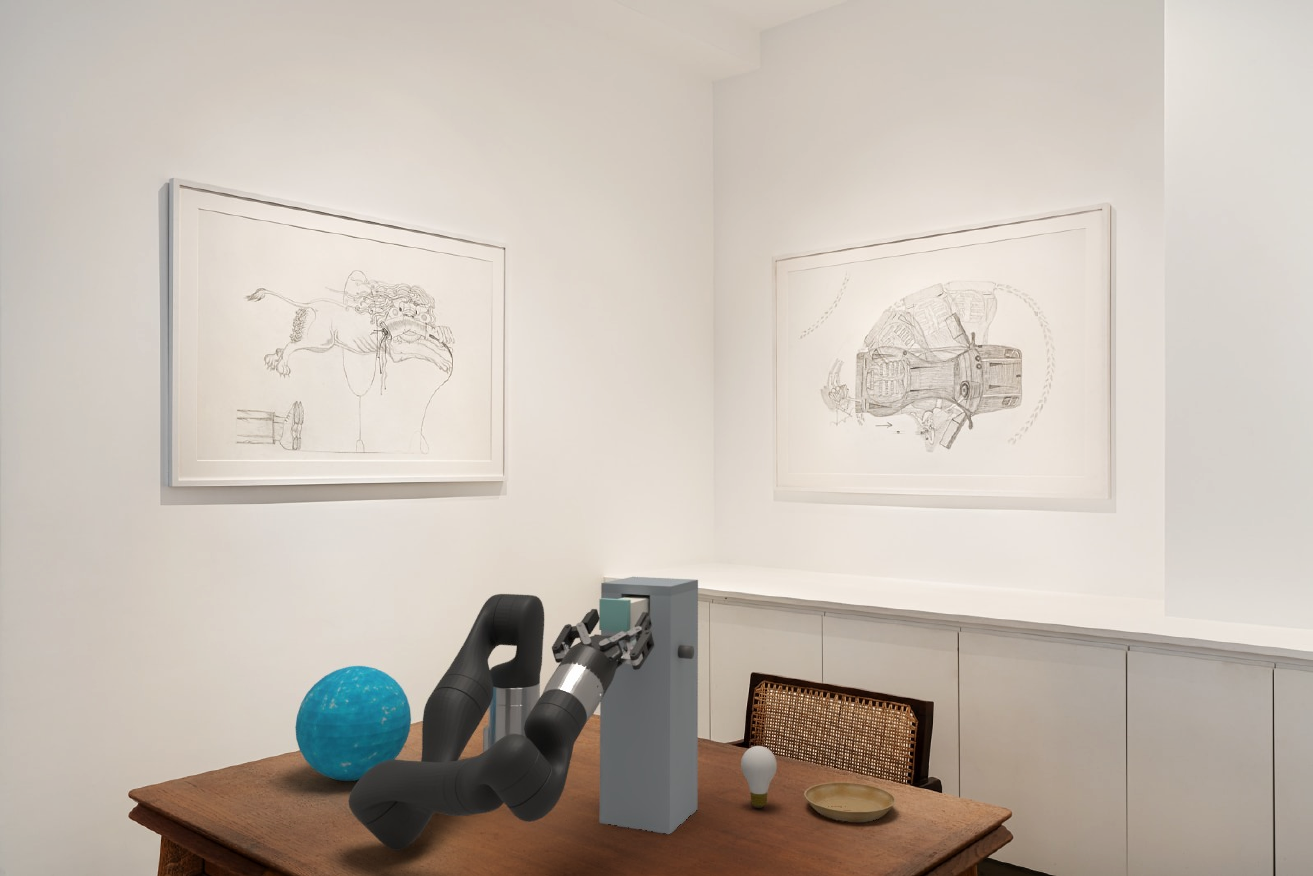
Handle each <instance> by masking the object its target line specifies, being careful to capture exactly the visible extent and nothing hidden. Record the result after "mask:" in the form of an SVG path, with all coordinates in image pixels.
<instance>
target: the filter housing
mask: <svg viewBox="0 0 1313 876" xmlns="http://www.w3.org/2000/svg"><path fill="white" fill-rule="evenodd" d="M600 587H601V588H600V589H601V591H600V593H601V598H600V599H602V598H609V599H620V598H624V597H628V596H632V595H636V594H638V595H650V619H651V623H652V626H651V628H650V629H649V630H651V632H652V636H653V641H654V647H653V649H652V650H651V652H650V654H649V655H648V657H647V658H646V660H645V661H644V663H643V665H642V666H641V668H640V669H638V670H634V669H633V667H632V664H625V663H623V664H622V665H621V666H619V667H618V668H617V669H616V671H615V675H614V678H613V680H612V682H611V684H610V686H609V687H608V689H607V691H606V693H605V694H604V696H603V698H602V700H601V701H600V703H599V705H600V708H599V709H600V715H599V717H600V718H599V719H600V721H599V722H600V723H599V730H600V731H599V813H598V814H599V818H598V819H599V821H598V822H599V824H603V825H608V824H611V825H610V826H614V825H617V826H616V827H621V828H627V829H628V827H629V829H633V830H634V829H635V830H639V829H642V830H641V831H645V830H647V831H646V832H651V831H653V833H658V834H663V833H666V834H665V835H669V834H670V833H671V834H673V832H674V831H675V830H676V829H678V828H679V827H680V826H681V825H682V824H683V823H685V821H687V820H686V819H689V818H690V817H691V816H692V815H693V814H694V813H696V812H697V811H698V797H699V796H698V791H699V790H698V774H699V773H698V772H699V771H698V769H699V768H698V765H699V764H698V760H699V759H698V754H699V753H698V751H699V749H698V747H699V745H698V744H699V743H698V741H699V740H698V739H699V737H698V735H699V727H698V726H699V725H698V721H699V718H698V717H699V716H698V715H699V714H698V712H699V711H698V710H699V708H698V707H699V706H698V705H699V703H698V701H699V695H698V693H699V692H698V691H699V690H698V689H699V686H698V685H699V683H698V680H699V665H698V664H699V657H698V656H699V580H698V579H694V578H693V579H691V578H688V579H687V578H669V577H667V578H666V577H646V576H629V577H624V578H619V579H615V580H610V581H603V582H601V586H600ZM620 632H621V631H607V630H600V635H602V636H608V635H610V636H614V635H616V634H618V633H620ZM635 639H636V638H635V636H634V637H632V638H631V639H630V641H633V640H635ZM619 644H620V647H621V649H623V647H624V645H623V641H620V642H619ZM696 810H697V811H696ZM690 815H691V816H690ZM689 816H690V817H689ZM688 817H689V818H688ZM680 824H681V825H680ZM679 825H680V826H679ZM678 826H679V827H678ZM677 827H678V828H677ZM671 834H670V835H671Z"/></svg>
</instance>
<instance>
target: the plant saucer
mask: <svg viewBox="0 0 1313 876" xmlns="http://www.w3.org/2000/svg"><path fill="white" fill-rule="evenodd" d="M803 795H804V798H805V799H806V801H807V802H808V804H809V805H810V806H811V807H812V809H814V810H815V811H816V812H817V813H818V814H819V813H820V814H819V815H821V816H823V815H824V816H823V817H825V816H826V817H825V818H827V817H828V819H830V818H832V819H831V820H834V819H837V820H836V821H838V820H842V821H841V822H844V821H850V822H849V823H868V821H869V822H874V821H877V820H879V819H881V818H882V817H884V816H885V815H886V814H888V812H889V811H890V810H891V809H892V808H893V806H894V805H895V804H896V802H897V800H896V797H895V795H894V794H892V793H891V792H889V791H888V790H886V789H884V788H880V787H878V786H875V785H870V784H867V783H866V784H865V783H858V782H850V781H849V782H847V781H837V782H834V781H833V782H832V781H831V782H824V783H819V784H814V785H812V786H810V787H808V788H807V789H805V791H804V794H803ZM828 806H829V807H828ZM831 806H833V807H831ZM834 806H842V808H840V807H834ZM845 806H846V807H845ZM843 810H851V811H843ZM876 819H877V820H876ZM873 820H874V821H873Z"/></svg>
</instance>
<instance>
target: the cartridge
mask: <svg viewBox="0 0 1313 876" xmlns="http://www.w3.org/2000/svg"><path fill="white" fill-rule="evenodd" d="M598 602H599V610H598V611H599V612H598V614H599V622H598V625H599V626H598V628H599V629H598V630H599V631H601V630H607V631H625V632H627V631H629V630H631V629H633V628H635V624H636V623H637V621H638V619H639V618H640V616H641V614H642V612H648V615H649V616H650V595H638V594H636V595H632V596H628V597H624V598H620V599H609V598H602V599H601V598H599V601H598Z"/></svg>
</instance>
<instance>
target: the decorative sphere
mask: <svg viewBox="0 0 1313 876" xmlns="http://www.w3.org/2000/svg"><path fill="white" fill-rule="evenodd" d="M301 701H302V702H301V703H300V706H299V709H298V712H297V716H296V720H295V721H296V722H295V726H294V727H295V738H296V742H297V746H298V749H299V751H300V752H301V754H302V757H303V759H304V760H305V761H306V763H308V764H309V766H310V767H311V768H312V769H314V770H315V771H316V772H317V773H319V774H321V775H322V776H323V777H328V778H330V779H334V780H335V781H336V780H337V781H341V782H342V781H345V782H346V781H347V782H348V781H359V779H360V778H361V777H362V776H363V775H364V774H365V773H366V772H367V771H368V770H369V769H371V768H372V767H373V766H375V765H377V764H379V763H381V762H384V761H387V760H396V759H397V757H398V756H399V755H400V753H401V752H402V750H403V748H404V746H405V745H406V744H407V741H408V738H409V734H410V730H411V725H412V724H411V723H412V717H411V716H412V715H411V707H410V706H411V705H410V704H409V700H408V696H407V694H406V693H405V691H404V689H403V688H402V686H401V685H400V684H399V683H398V682H397V681H396V679H395V678H393V677H392V676H390V675H389V674H388V673H386V672H384V671H383V670H379V669H378V668H376V667H372V666H371V667H370V666H365V665H352V666H351V665H350V666H346V667H343V668H339V669H336V670H333V671H332V672H330V673H327V674H325V675H324V676H323V677H321V679H319V680H318V681H317V682H316V683H314V684H313V686H312V687H311V688H310V689H309V690H308V692H306V694H305V696H304V698H303V700H301Z"/></svg>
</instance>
